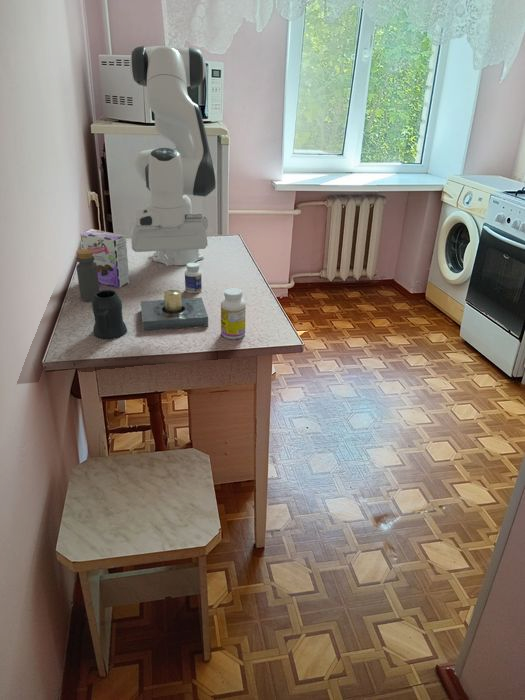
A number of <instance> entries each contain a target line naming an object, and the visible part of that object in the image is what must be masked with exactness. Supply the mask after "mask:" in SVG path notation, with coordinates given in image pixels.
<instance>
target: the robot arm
mask: <svg viewBox="0 0 525 700" xmlns="http://www.w3.org/2000/svg"><path fill="white" fill-rule="evenodd" d="M129 69H130V73H131V76H132V79H133V81H134V82H135V83H136V84H137V85H139V86H143V87H146V98H147V104H148V107H149V109H150V110H151V112H153V115H154V127H155V129H156V132H157V133H158V134H159V135H160V137H162V138H164V139H165V140H168V141H170V142H171V143H172V144H173V145H174V146H175V147H174V148H170V147H158V148H151V149H146V150H141V151H140V152H139V153H138V155H137V156H136V160H135V171H136V173H137V176H138V177H139V178H140V179H141V180H142V181H143V182H145V187H146V188H147V190H148V191H149V192H150V194H151V196H150V203H149V204H150V206H149V207H145V208H142V209H140V210H138V211H135V213H134V216H133V221H134V222H133V224H132V227H131V249H132V251H133V252H135V253H139V252H140V253H141V252H154V255H153V256H152V261H153V262H158V263H161V264H163V265H165V266H187V264H188V263H197V261H200V260H201V261H202V260H204V258H205V256H204V254H203V253H202V252H201V251H200V250H205V249H206V248H207V247H208V245H209V244H208V235H207V229H208V227H209V221H208V220H209V219H208V218H207V217H206V216H205V215H203V214H201V213H198V214H193V208H192V207H193V206H192V200H191V199H190V197H189V196H196V197H207V196H209V195H210V194H211V193H212V192H213V191H214V190H215V189H216V185H217V179H218V177H217V171H216V167H215V165H214V162H213V159H212V155H211V151H210V147H209V140H208V137H207V132H206V128H205V123H204V119H203V115H202V111H201V109H200V107H199V105H198V104H197V103H195V102H194V101H192V98H191V97H190V96H189V93H188V87H189V88H190V90H193V89H194V88H197V87H200V86H201V85H202V84H203V82H204V79H205V77H206V74H207V63H206V60H205V58H204V56H203V52H201V50H200V49H199V48H195V47H191V46H189V47H185V46H179V45H169V44H167V45H155V46H145V45H140V46H137V47H135V48H134V49H133V50H132V52H131V55H130V59H129Z"/></svg>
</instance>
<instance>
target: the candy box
mask: <svg viewBox="0 0 525 700" xmlns="http://www.w3.org/2000/svg"><path fill="white" fill-rule="evenodd" d="M126 237H127V236H126V234H119V233H113V232H108V231H104V230H99V229H94V228H91V229H88V230H85V231H81V232H80V239H81V246H82V249H90V250H92V251H93V256H94V261H93V263H95V264H96V266H97V273H98V281H99V285H104V286H109V287H113V288H117V289H120V288H123V287H125V286H127V285H128V284H130V283H131V282H130V271H129V262H128V261H129V260H128V249H127V248H128V247H127V238H126Z"/></svg>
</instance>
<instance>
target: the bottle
mask: <svg viewBox="0 0 525 700" xmlns="http://www.w3.org/2000/svg"><path fill="white" fill-rule="evenodd" d="M75 253H76V255H77V256H76V262H77V265H76V267H75V269H76V273H77V280H78V289H79V295H80V300H81V301H83V302H89V303H90V302H92V301H93V299H94V296H95V293H96V292H98V291H101V290H100V289H101V288H100V283H99V281H98V273H97V266H96V264H95V263H93V261H94V256H93V251H92V250H90V249H83V248H82V249H78V250H77V251H76V252H75Z"/></svg>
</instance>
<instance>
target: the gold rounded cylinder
mask: <svg viewBox="0 0 525 700" xmlns="http://www.w3.org/2000/svg"><path fill="white" fill-rule="evenodd" d="M163 298H164V299H163V300H164V301H165V313H169V314H177V313H180V312H182V300H181V299H182V291H181V290H179V289H167V290H166V291H164V292H163Z"/></svg>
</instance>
